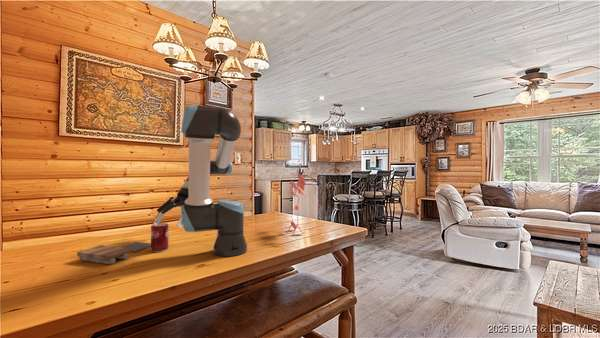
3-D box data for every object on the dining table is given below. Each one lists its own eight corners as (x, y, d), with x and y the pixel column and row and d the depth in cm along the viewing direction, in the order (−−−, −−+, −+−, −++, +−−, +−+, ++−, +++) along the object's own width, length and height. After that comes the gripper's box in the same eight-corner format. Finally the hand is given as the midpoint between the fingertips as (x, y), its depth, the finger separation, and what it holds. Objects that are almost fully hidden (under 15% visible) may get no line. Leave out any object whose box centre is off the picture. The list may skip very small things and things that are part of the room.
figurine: (295, 238, 147) (297, 174, 146) (282, 228, 171) (284, 172, 171) (321, 237, 152) (323, 174, 151) (305, 227, 176) (307, 173, 176)
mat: (155, 244, 133) (155, 243, 133) (134, 252, 122) (134, 251, 122) (136, 242, 136) (136, 241, 136) (114, 250, 125) (114, 248, 125)
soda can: (153, 253, 120) (153, 226, 120) (149, 249, 126) (149, 224, 125) (170, 250, 125) (170, 224, 125) (166, 246, 130) (166, 222, 130)
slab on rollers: (130, 257, 115) (130, 248, 115) (108, 266, 105) (108, 256, 105) (101, 254, 119) (101, 245, 119) (77, 261, 109) (77, 252, 109)
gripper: (210, 196, 144) (192, 231, 130) (171, 194, 151) (149, 227, 136) (204, 187, 139) (184, 223, 124) (164, 186, 145) (141, 219, 131)
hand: (166, 225), depth 130 cm, fingers open, 13 cm apart
